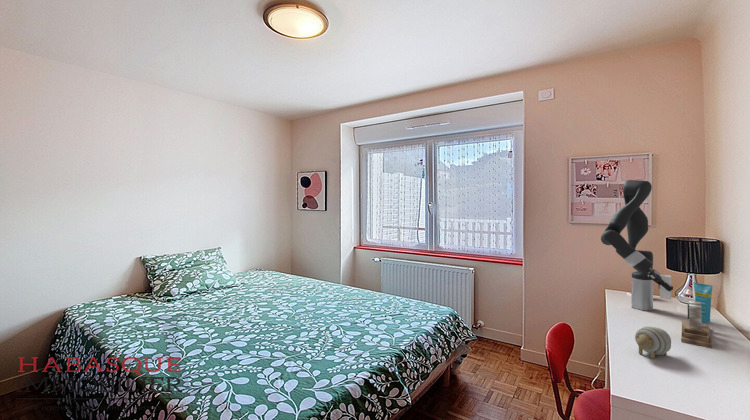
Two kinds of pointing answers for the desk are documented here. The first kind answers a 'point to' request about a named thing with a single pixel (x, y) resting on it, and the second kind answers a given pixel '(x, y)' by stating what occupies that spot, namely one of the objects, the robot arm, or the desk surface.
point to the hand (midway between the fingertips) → (671, 289)
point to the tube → (704, 300)
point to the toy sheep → (653, 341)
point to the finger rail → (696, 335)
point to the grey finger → (663, 291)
